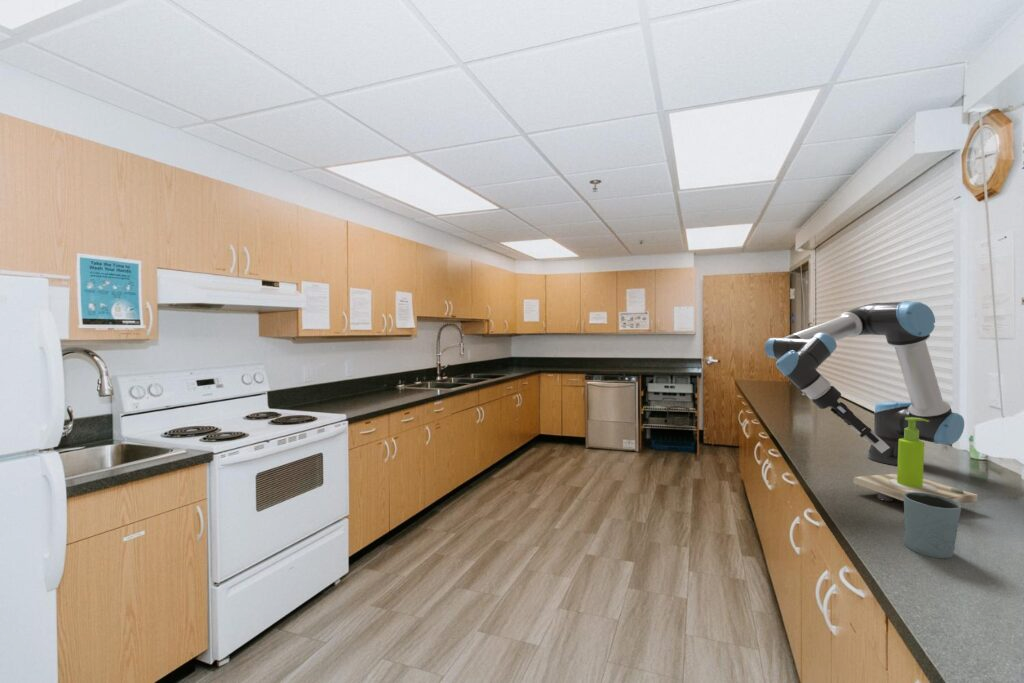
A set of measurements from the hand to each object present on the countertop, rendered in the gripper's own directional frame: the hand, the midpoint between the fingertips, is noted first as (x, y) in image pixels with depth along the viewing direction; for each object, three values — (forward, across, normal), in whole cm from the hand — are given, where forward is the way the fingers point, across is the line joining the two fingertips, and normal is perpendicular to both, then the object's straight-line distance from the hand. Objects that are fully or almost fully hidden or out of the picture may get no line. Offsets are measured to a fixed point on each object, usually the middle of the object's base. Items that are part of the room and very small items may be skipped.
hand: (877, 444), depth 144 cm
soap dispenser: (+14, 0, -2) cm, 14 cm away
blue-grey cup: (+12, +36, -11) cm, 40 cm away
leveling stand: (+18, 0, -5) cm, 19 cm away
